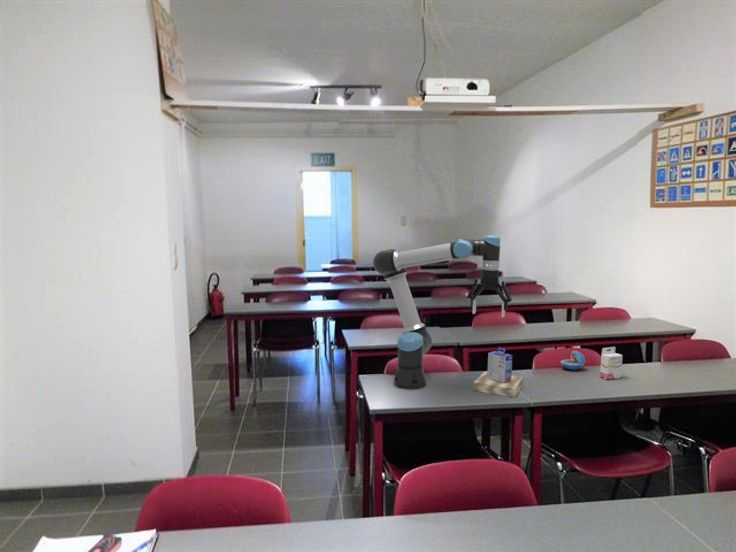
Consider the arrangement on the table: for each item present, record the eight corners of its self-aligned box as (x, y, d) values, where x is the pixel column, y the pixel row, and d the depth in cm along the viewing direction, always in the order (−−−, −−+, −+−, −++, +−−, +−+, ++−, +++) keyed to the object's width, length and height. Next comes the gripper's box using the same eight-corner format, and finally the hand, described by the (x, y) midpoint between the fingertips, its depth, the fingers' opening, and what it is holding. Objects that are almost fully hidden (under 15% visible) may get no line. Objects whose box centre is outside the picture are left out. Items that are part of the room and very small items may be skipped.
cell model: (556, 366, 255) (557, 349, 254) (578, 366, 256) (578, 348, 255) (566, 372, 245) (566, 354, 244) (588, 371, 247) (589, 353, 246)
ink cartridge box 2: (607, 380, 233) (609, 350, 232) (599, 377, 238) (601, 347, 236) (621, 378, 236) (623, 348, 234) (613, 375, 241) (615, 346, 239)
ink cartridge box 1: (512, 381, 221) (513, 349, 219) (504, 383, 217) (505, 352, 216) (494, 375, 228) (495, 345, 227) (486, 378, 225) (487, 347, 223)
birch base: (473, 390, 220) (473, 382, 220) (484, 379, 236) (484, 371, 235) (514, 397, 211) (514, 388, 211) (523, 385, 227) (523, 377, 227)
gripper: (461, 268, 226) (459, 313, 229) (516, 272, 214) (513, 319, 216) (466, 267, 233) (465, 310, 235) (520, 270, 220) (517, 316, 223)
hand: (488, 315), depth 226 cm, fingers open, 13 cm apart
